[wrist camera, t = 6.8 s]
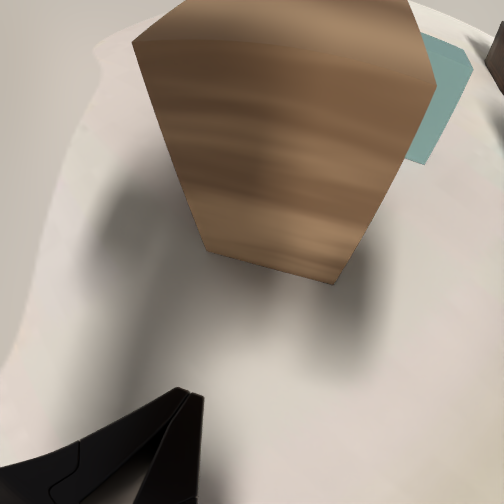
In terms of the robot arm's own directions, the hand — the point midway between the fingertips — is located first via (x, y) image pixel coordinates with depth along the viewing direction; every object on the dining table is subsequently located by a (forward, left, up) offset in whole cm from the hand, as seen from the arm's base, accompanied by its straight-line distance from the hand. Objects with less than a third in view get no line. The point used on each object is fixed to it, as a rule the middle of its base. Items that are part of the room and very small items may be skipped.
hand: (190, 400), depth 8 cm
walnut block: (+10, +10, -9) cm, 16 cm away
